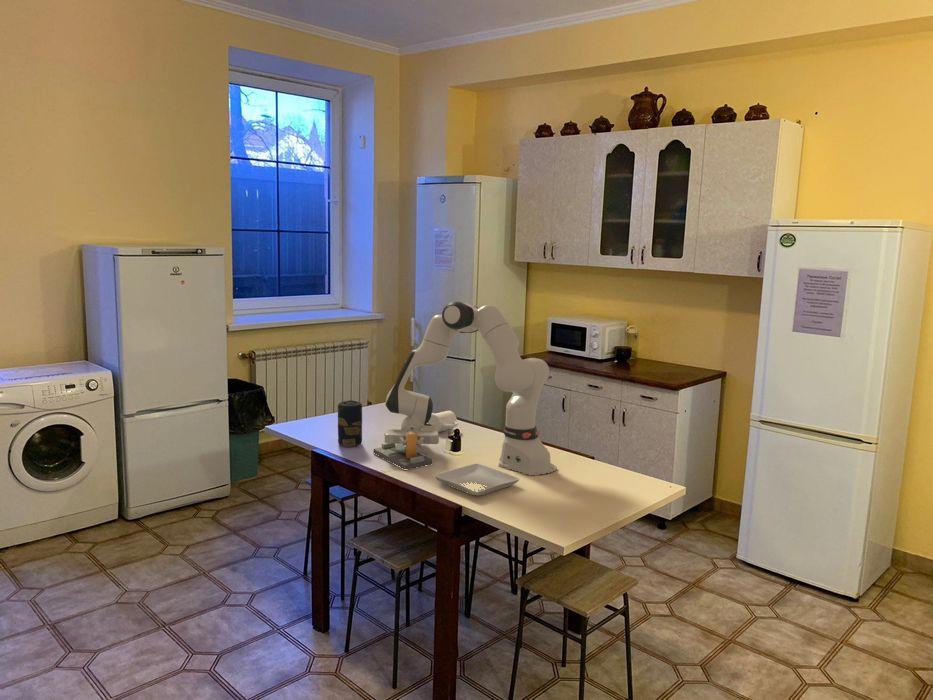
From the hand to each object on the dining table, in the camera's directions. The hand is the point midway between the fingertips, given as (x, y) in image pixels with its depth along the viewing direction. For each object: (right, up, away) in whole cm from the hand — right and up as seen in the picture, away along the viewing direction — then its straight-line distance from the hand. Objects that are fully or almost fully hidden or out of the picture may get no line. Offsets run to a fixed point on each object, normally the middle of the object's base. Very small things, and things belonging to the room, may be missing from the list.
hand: (411, 443), depth 259 cm
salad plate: (+23, -12, -17) cm, 31 cm away
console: (-4, -7, +7) cm, 11 cm away
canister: (-26, -4, +22) cm, 35 cm away
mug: (+11, -1, +44) cm, 46 cm away
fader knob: (0, -5, +2) cm, 6 cm away
